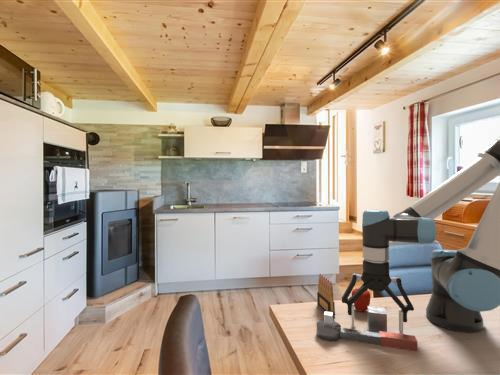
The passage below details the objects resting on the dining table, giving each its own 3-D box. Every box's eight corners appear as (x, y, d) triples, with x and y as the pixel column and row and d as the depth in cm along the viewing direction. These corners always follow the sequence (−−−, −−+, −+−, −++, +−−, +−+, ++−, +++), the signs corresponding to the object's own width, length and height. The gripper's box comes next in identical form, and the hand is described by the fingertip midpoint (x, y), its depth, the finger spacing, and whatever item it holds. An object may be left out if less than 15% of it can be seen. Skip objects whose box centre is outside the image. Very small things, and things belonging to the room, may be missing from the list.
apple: (358, 315, 98) (358, 293, 98) (348, 307, 104) (348, 287, 104) (374, 313, 99) (374, 291, 99) (363, 306, 105) (363, 285, 105)
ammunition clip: (335, 317, 96) (334, 282, 96) (330, 317, 96) (329, 282, 96) (321, 304, 107) (321, 272, 107) (317, 305, 107) (316, 273, 107)
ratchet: (413, 341, 81) (413, 318, 81) (419, 355, 74) (419, 330, 74) (317, 328, 89) (317, 307, 89) (315, 339, 83) (315, 317, 83)
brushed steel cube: (385, 326, 89) (384, 307, 89) (387, 334, 85) (386, 314, 85) (367, 324, 91) (367, 305, 91) (369, 332, 86) (368, 312, 86)
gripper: (418, 259, 88) (419, 328, 87) (334, 254, 96) (334, 317, 95) (425, 266, 80) (425, 341, 80) (333, 260, 88) (333, 328, 88)
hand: (376, 328), depth 88 cm, fingers open, 13 cm apart
